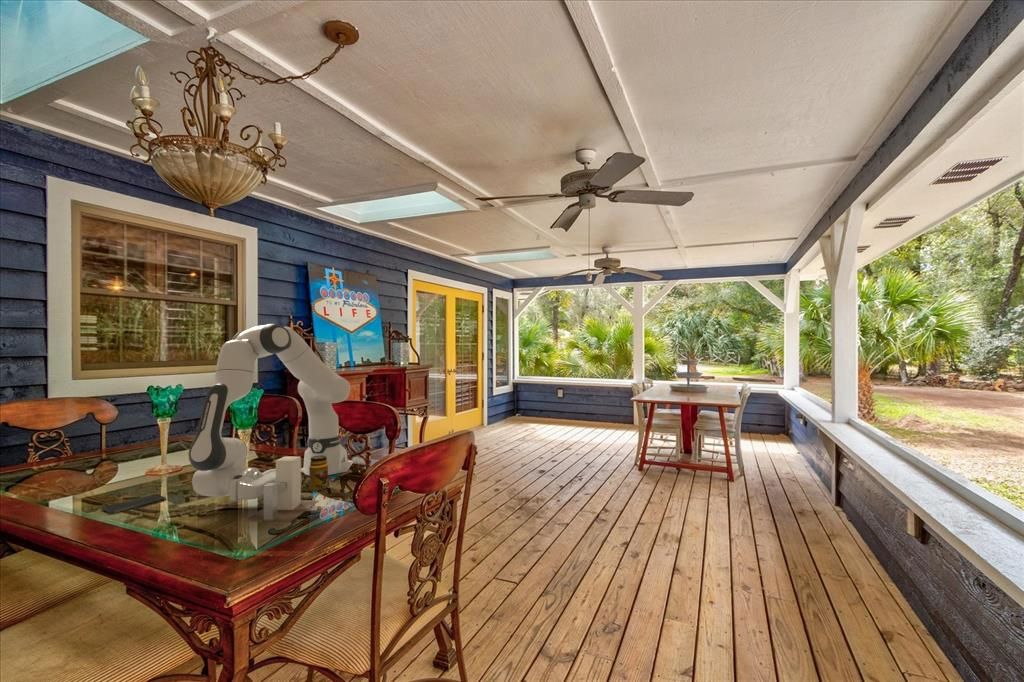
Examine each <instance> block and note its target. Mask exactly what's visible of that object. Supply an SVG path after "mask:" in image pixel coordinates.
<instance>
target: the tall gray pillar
mask: <svg viewBox="0 0 1024 682" xmlns="http://www.w3.org/2000/svg"><path fill="white" fill-rule="evenodd" d="M301 461H302V459H301V456H288V455H287V456H283V457H280V458H278V459H276V460H275V469H276V483H281V482H286V483H287V487H286V488H285V489H279V490H277V510H293V509H294V508H296V507H297V506H299V505H300V504H301V500H302V499H301V496H302V492H301V491H302V489H301V487H302V484H301V483H302V482H301V480H302V479H301V478H302V476H301V475H302V474H301V473H302V472H301V469H302V465H301V464H302V462H301Z"/></svg>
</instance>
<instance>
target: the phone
mask: <svg viewBox="0 0 1024 682" xmlns="http://www.w3.org/2000/svg"><path fill="white" fill-rule="evenodd" d="M164 500H167V497H165V496H162V495H160V494H151V495H146V496H142V497H138V498H134V499H131V500H127V501H126V500H125V501H121V502H118V503H113V504H110V505H106V506H102V507H101V511H102V510H103V511H102V512H104V511H106V512H108V513H115V514H118V513H117V512H119V513H121V512H120V511H123V512H126V511H125V510H127V511H129V510H128V509H131V510H134V509H133V508H135V509H138V508H137V507H139V508H142V507H141V506H143V507H145V506H144V505H147V506H149V505H148V504H151V505H153V504H152V503H155V502H159V501H163V502H165V501H164ZM159 503H160V502H159ZM155 504H156V503H155ZM106 512H105V513H106ZM108 513H107V514H108Z"/></svg>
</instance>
